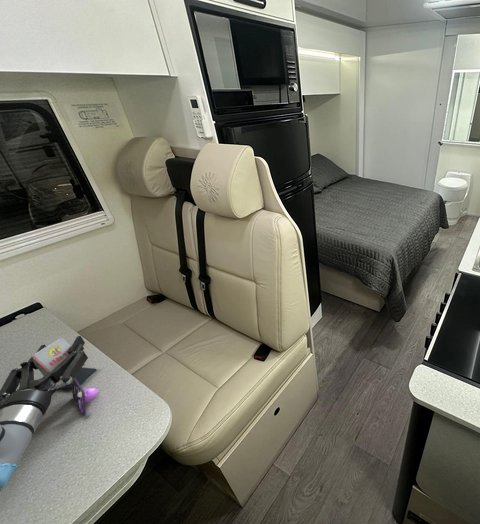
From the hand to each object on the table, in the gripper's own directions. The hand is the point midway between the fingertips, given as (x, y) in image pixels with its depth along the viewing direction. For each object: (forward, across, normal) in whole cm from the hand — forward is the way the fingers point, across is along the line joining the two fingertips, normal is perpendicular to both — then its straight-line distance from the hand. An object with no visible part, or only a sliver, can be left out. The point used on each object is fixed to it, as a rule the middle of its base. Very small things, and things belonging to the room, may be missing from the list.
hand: (63, 344), depth 79 cm
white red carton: (-5, 0, -6) cm, 8 cm away
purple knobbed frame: (-16, +7, -9) cm, 19 cm away
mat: (-5, 0, -9) cm, 10 cm away
